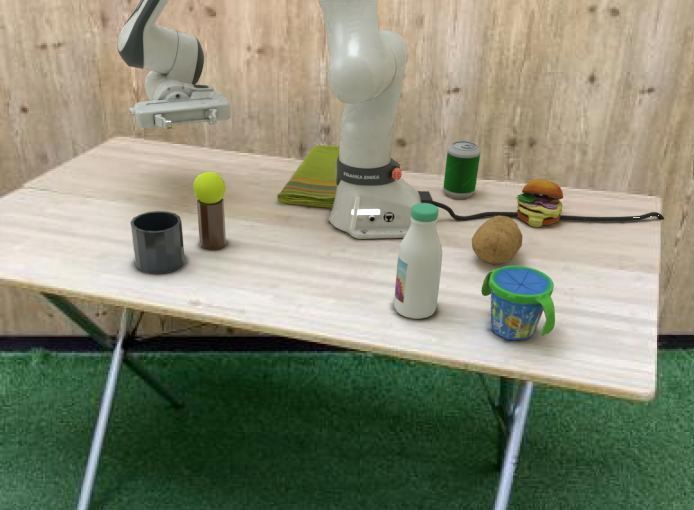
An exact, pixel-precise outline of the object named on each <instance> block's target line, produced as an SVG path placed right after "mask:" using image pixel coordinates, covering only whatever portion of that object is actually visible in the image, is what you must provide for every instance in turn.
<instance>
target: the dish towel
mask: <svg viewBox="0 0 694 510" xmlns="http://www.w3.org/2000/svg"><path fill="white" fill-rule="evenodd" d="M338 156H339V145H324V144H322V145H319V144H318V145H314V146H313V147H311V149H310V150H309V152H308V153H307V155H306V156H305V157H304V159H303V160H302V162H301V164H300V165H299V167H298V168H297V169H296V171H295V172H294V173H293V175H292V176H291V177H290V179H289V181H288V182H287V183H286V185H284V187H283V188H282V189H281V191H280V192H279V193H277V195H276V198H277V201H279V202H280V203H283V204H287V205H300V206H309V207H317V208H328V209H332V208H333V204H334V200H335V194H336V188H337V184H336V162H337V158H338Z"/></svg>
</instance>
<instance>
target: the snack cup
mask: <svg viewBox="0 0 694 510" xmlns="http://www.w3.org/2000/svg"><path fill="white" fill-rule="evenodd" d="M554 286H555V284H554V281H553V279H552V278H551V277H550V276H549V275H548V274H546V273H545V272H543V271H541V270H539V269H536V268H533V267H529V266H524V265H506V266H502V267H498V268H495V269H492V270H490V271H488V272H487V273H486V275H485V277H484V279H483V282H482V285H481V290H480V291H481V295H482V296H483V297H487V296H490V315H489V316H490V329H491V330H492V331H493V332H494V333H495V334H496V335H498V336H499V337H502V338H504V339H505V340H507V341H508V340H514V341H522V340H528V339H530V337H532V336H533V334H535V332H536V330H537V327H538V325H539V323H540V320H541V317H542V316H543V314H544V317H545V322H544V325H543V327H542V330H541V331H540V336H546V335H548V334H550V333H551V332H552V331H553V330H554V329H555V325H556V312H555V311H556V309H555V305H554V299H553V298H552V294H553V292H554V288H555V287H554Z"/></svg>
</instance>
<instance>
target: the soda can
mask: <svg viewBox="0 0 694 510" xmlns="http://www.w3.org/2000/svg"><path fill="white" fill-rule="evenodd" d="M446 152H447V153H446V161H445V169H444V177H443V178H444V180H443V186H442V191H444V192H445V194H446V195H447V197H449V198H452V199H455V200H456V199H458V200H464V199H468V198H470V197H471V196H472V195H474V194H475V192H476V187H477V180H478V172H479V166H480V165H479V164H480V158H481V148H479V146H478V144H477V143H476V142H472V141H468V140H456V141H453V142H452V143H451V144H450V145H448V147H447V151H446Z"/></svg>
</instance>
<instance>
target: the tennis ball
mask: <svg viewBox="0 0 694 510" xmlns="http://www.w3.org/2000/svg"><path fill="white" fill-rule="evenodd" d="M192 186H193V187H192V189H193V193H194V196H195V198H196V199H197V200H200V201H201V202H203V203H205V204H215V203H217V202H219V201H220V200H221V199H222V198H223V199H224V197H225V195H226V188H227V187H226V182H225V180H224V179H223V177H222V176H221V175H219V174H218V173H217V172H214V171H204V172H202V173H200V174H198V176H196V178H195V179H194V181H193V185H192Z"/></svg>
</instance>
